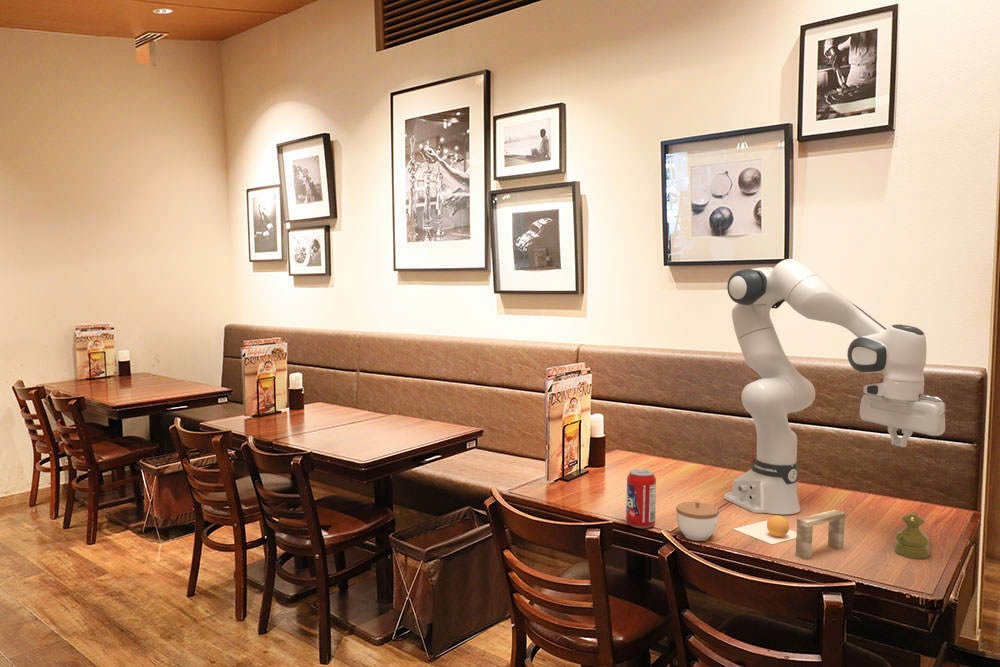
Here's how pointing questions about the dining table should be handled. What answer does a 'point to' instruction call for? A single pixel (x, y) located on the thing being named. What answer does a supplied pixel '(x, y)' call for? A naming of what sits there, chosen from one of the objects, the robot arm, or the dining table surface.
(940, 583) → the dining table surface
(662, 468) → the dining table surface
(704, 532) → the lidded jar
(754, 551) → the dining table surface
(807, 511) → the dining table surface
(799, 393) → the robot arm
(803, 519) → the bridge
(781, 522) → the ball
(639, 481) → the soda can
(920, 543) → the green tiered figurine
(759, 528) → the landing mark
